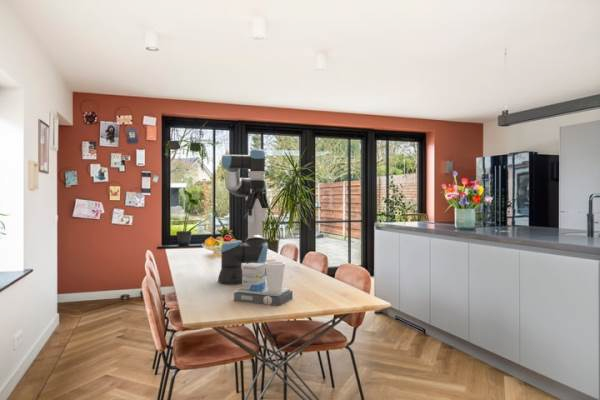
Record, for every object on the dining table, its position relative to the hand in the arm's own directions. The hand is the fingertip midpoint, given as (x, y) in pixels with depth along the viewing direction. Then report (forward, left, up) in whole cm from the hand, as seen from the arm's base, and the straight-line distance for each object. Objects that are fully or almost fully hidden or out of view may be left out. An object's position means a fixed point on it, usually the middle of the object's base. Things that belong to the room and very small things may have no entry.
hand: (257, 221), depth 213 cm
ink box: (+3, -10, -32) cm, 34 cm away
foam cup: (+15, -10, -32) cm, 37 cm away
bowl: (-24, +50, -37) cm, 67 cm away
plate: (+9, -10, -33) cm, 35 cm away
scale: (+9, -10, -37) cm, 39 cm away
